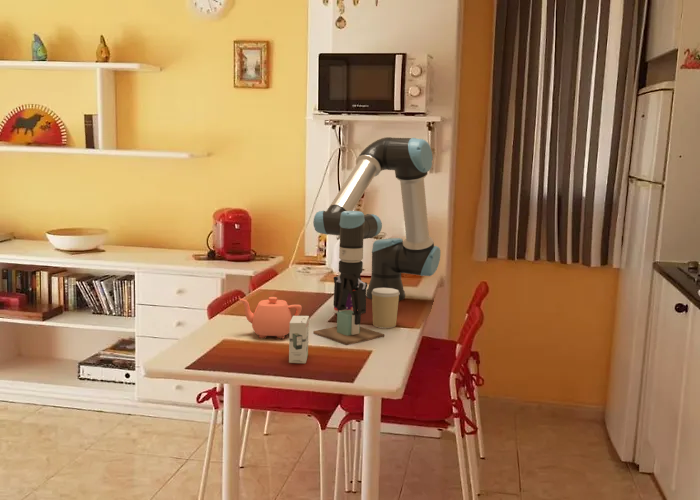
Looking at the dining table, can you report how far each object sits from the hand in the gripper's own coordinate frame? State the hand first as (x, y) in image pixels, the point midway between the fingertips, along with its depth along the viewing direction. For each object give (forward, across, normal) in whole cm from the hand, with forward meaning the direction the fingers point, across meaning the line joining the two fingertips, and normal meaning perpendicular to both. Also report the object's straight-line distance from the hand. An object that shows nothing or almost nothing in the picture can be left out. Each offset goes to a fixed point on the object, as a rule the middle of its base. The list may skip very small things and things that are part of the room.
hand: (348, 331), depth 241 cm
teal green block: (0, 0, 0) cm, 0 cm away
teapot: (+1, -15, -20) cm, 25 cm away
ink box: (+2, +10, -28) cm, 30 cm away
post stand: (+1, 0, 0) cm, 1 cm away
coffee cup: (+1, -2, +18) cm, 18 cm away
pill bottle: (+1, -22, +18) cm, 29 cm away
